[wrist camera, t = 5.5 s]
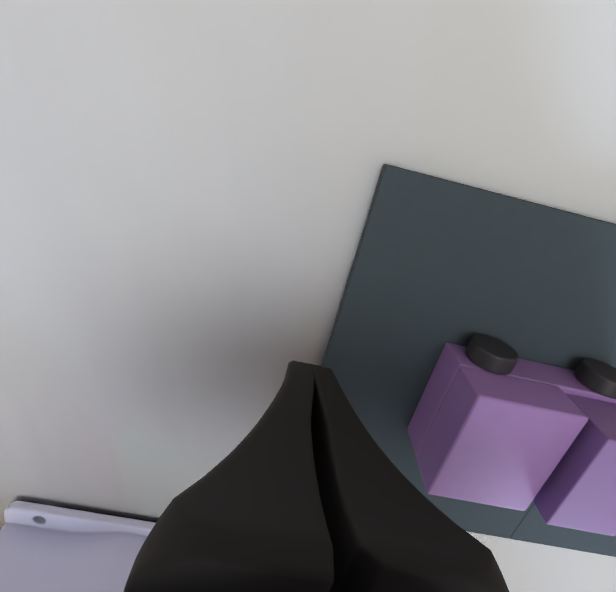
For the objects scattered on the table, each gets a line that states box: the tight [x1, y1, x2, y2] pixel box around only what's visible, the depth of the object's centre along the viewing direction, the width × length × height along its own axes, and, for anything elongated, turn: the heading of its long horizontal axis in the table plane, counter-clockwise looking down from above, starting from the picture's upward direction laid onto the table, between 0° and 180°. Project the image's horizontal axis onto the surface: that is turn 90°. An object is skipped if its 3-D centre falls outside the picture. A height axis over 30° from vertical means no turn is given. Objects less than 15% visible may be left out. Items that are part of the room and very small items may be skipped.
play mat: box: [322, 164, 616, 557], centre depth 15 cm, size 21×14×1 cm, turn 76°
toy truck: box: [407, 334, 616, 536], centre depth 13 cm, size 6×5×3 cm
